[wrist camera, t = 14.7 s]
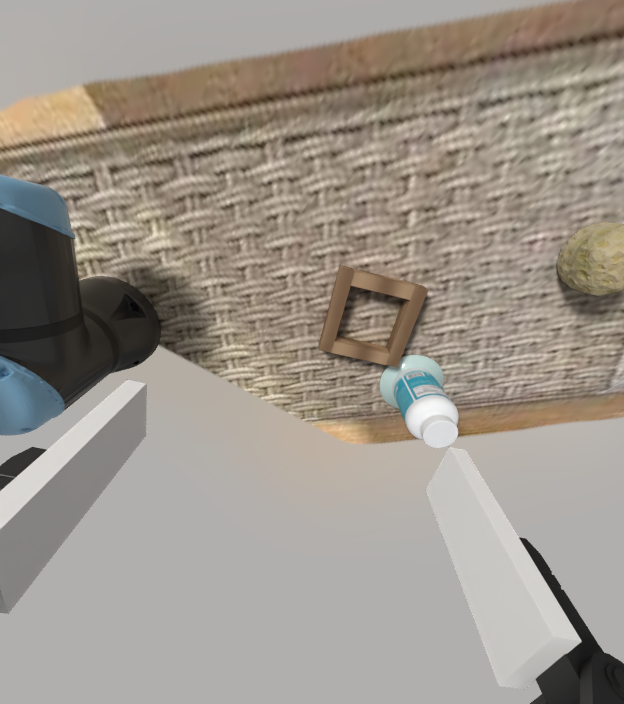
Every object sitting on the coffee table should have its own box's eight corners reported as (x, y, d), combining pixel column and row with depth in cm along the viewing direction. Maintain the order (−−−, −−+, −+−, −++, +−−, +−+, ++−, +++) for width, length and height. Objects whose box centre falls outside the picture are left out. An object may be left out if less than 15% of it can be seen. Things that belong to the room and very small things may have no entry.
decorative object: (542, 235, 47) (547, 275, 41) (634, 191, 39) (655, 234, 34) (567, 277, 50) (575, 319, 45) (656, 244, 43) (679, 290, 37)
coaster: (371, 401, 56) (371, 403, 56) (391, 348, 51) (392, 349, 51) (428, 414, 57) (429, 415, 56) (453, 362, 52) (454, 363, 52)
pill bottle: (410, 409, 56) (435, 465, 44) (382, 385, 54) (400, 436, 42) (443, 383, 53) (480, 434, 41) (416, 356, 51) (445, 402, 39)
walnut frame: (319, 343, 51) (319, 349, 49) (340, 265, 46) (341, 268, 43) (393, 360, 52) (397, 367, 50) (422, 285, 47) (428, 289, 44)
